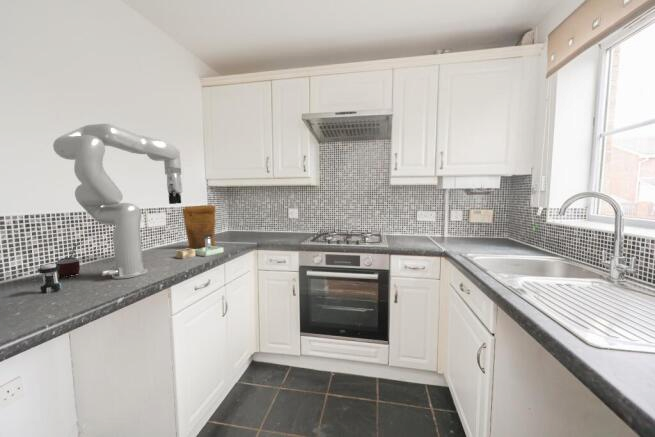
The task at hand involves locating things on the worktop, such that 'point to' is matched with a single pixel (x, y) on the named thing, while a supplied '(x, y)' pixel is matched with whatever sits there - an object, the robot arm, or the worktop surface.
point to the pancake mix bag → (199, 225)
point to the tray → (211, 252)
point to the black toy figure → (49, 278)
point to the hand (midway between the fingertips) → (175, 203)
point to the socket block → (185, 253)
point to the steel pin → (208, 243)
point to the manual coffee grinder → (68, 265)
